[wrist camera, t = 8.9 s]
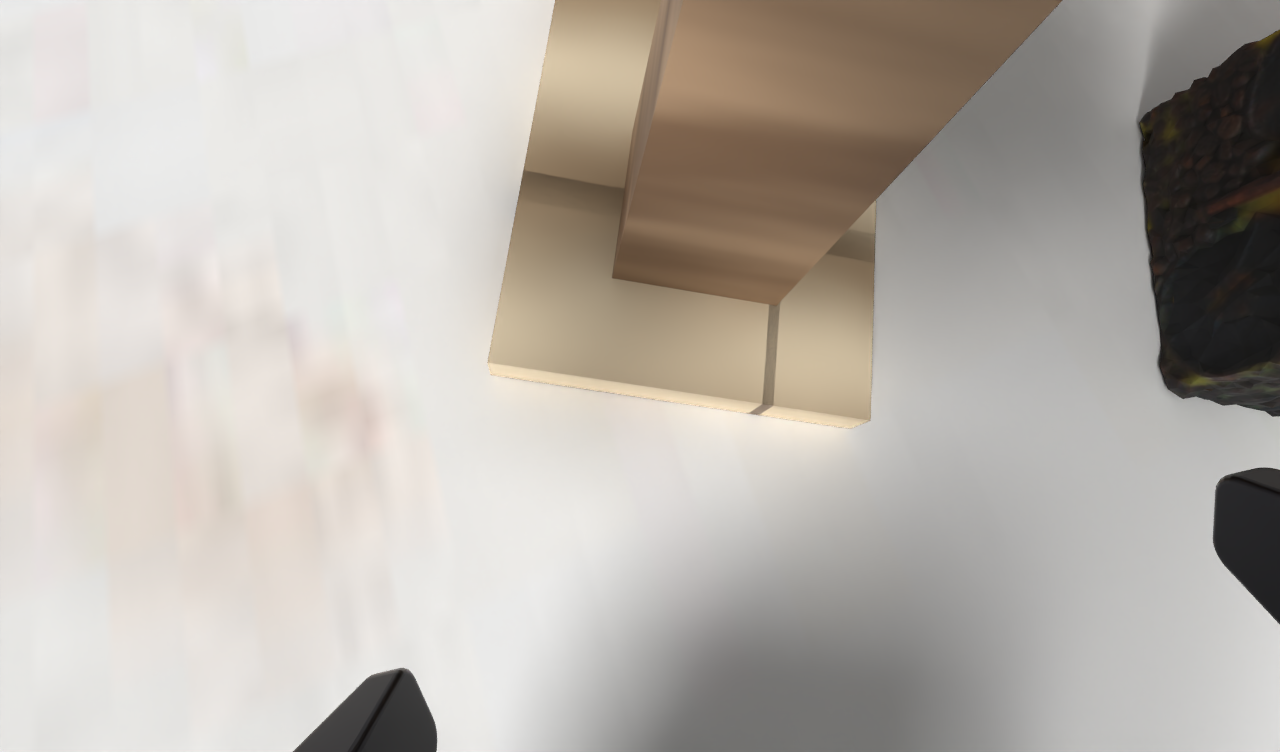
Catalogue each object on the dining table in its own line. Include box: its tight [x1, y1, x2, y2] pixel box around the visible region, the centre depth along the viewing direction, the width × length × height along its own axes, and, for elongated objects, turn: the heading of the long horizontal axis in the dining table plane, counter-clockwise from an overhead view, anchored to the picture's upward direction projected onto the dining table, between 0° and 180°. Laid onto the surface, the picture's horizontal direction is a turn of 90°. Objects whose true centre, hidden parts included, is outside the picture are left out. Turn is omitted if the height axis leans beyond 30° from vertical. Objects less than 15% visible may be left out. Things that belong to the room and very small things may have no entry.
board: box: [488, 0, 876, 429], centre depth 21 cm, size 22×10×1 cm, turn 172°
